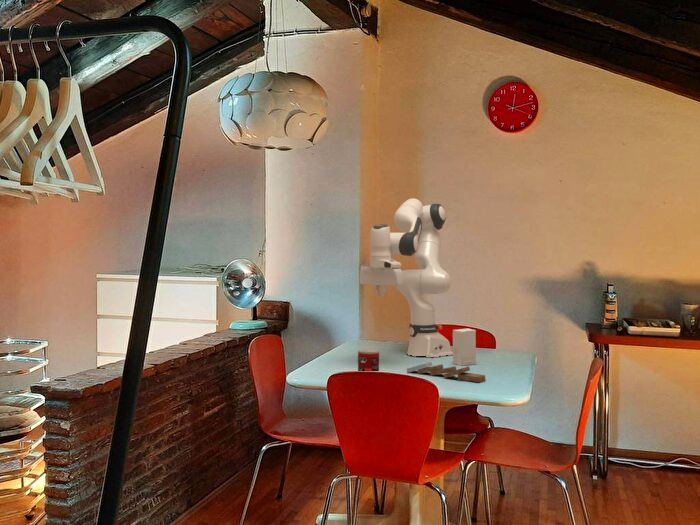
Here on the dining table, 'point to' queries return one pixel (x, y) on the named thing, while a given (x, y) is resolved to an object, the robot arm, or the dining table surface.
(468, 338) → the skincare box
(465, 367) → the domino
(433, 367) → the domino
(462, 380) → the domino
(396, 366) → the dining table surface
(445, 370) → the domino
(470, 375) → the domino
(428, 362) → the domino
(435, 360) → the dining table surface
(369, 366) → the canned food
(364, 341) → the dining table surface
